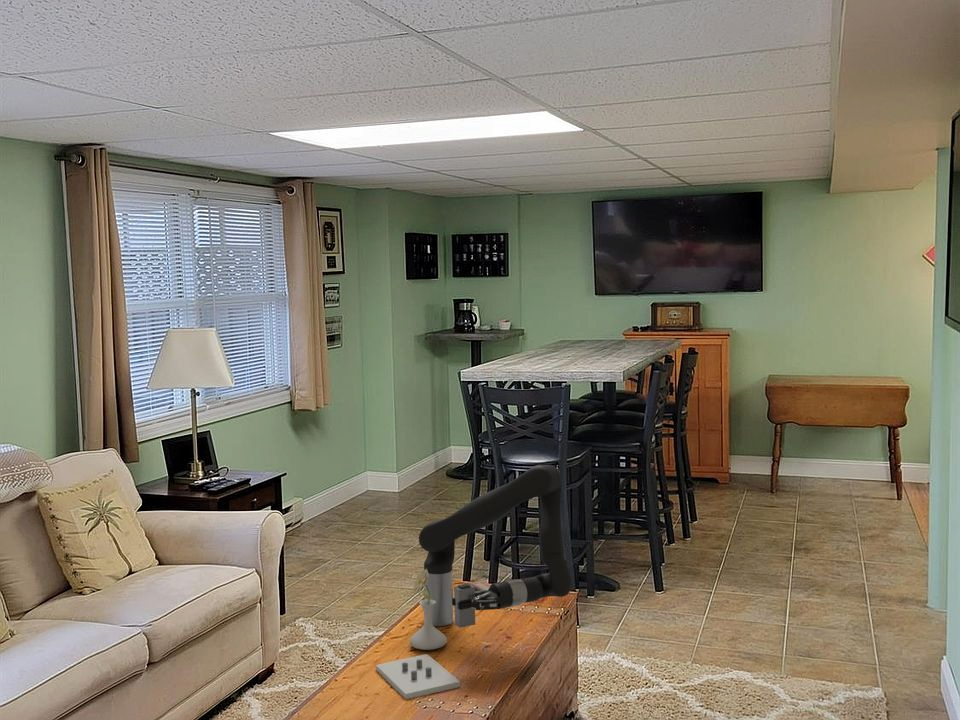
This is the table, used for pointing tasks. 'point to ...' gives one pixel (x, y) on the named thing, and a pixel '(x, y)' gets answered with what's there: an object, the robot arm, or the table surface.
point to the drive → (465, 615)
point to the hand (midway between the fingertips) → (455, 604)
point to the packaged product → (480, 585)
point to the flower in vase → (426, 619)
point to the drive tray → (417, 676)
